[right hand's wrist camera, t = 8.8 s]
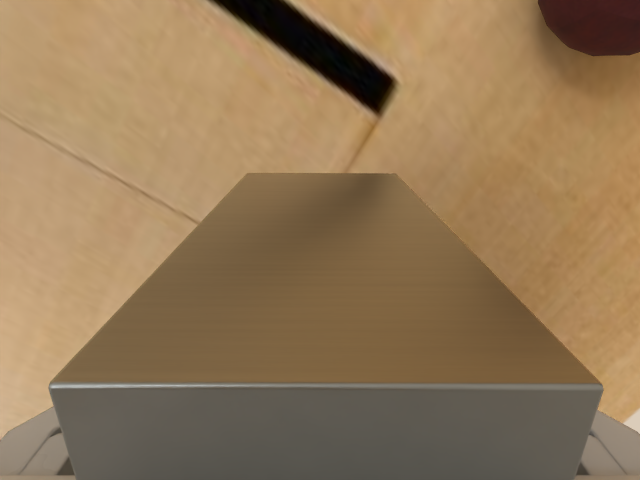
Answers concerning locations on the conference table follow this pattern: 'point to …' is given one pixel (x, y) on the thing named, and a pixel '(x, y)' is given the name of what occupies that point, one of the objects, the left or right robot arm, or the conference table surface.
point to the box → (324, 352)
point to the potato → (595, 25)
